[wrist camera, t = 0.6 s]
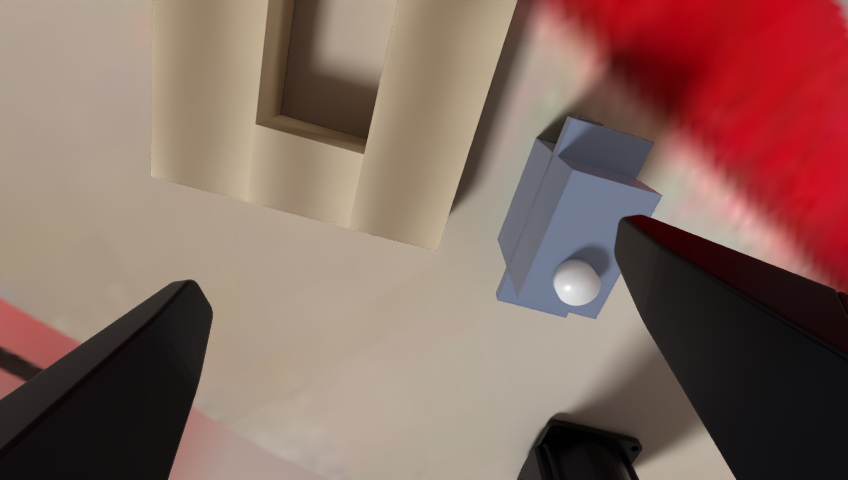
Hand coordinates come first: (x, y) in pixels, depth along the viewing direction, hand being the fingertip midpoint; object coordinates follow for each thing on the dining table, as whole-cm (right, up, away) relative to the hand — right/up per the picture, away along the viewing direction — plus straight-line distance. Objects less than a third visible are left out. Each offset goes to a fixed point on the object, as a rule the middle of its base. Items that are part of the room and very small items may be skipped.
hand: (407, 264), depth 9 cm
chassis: (-3, +9, +10) cm, 14 cm away
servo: (+7, +3, +12) cm, 14 cm away
